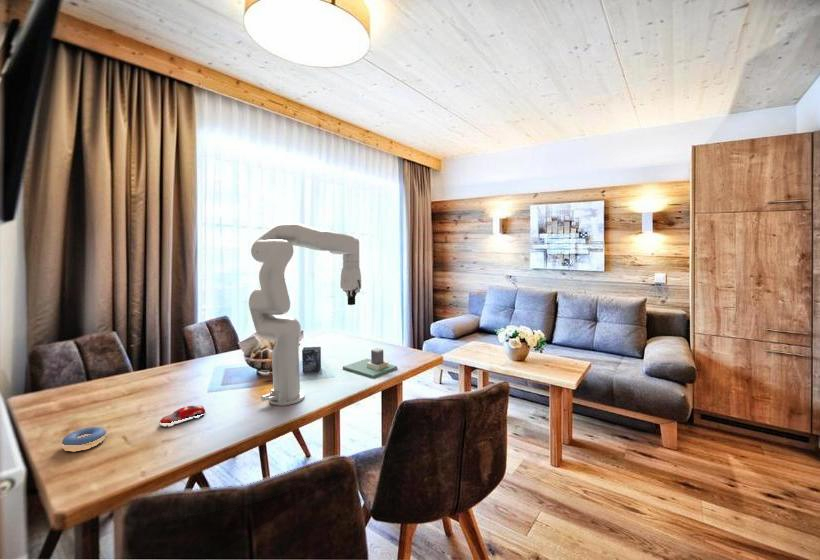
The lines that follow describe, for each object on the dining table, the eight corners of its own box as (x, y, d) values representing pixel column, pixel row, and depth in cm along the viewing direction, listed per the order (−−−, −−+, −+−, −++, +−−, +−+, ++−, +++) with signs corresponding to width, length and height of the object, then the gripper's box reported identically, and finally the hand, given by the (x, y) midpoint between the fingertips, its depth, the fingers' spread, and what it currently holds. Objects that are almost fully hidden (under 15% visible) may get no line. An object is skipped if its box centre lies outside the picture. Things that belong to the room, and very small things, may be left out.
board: (373, 378, 162) (373, 371, 161) (342, 369, 174) (342, 362, 174) (397, 368, 174) (397, 362, 174) (367, 360, 186) (367, 354, 186)
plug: (377, 368, 171) (377, 351, 170) (371, 366, 173) (371, 349, 173) (383, 366, 174) (383, 349, 173) (377, 364, 176) (377, 348, 176)
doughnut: (50, 454, 103) (51, 438, 103) (80, 438, 113) (81, 423, 113) (88, 456, 103) (89, 440, 103) (114, 440, 113) (115, 425, 113)
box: (302, 372, 169) (301, 350, 168) (304, 368, 175) (303, 347, 174) (320, 372, 170) (319, 349, 169) (321, 368, 176) (320, 346, 175)
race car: (161, 430, 117) (160, 418, 117) (157, 425, 121) (156, 413, 120) (207, 416, 126) (206, 405, 126) (202, 411, 130) (201, 400, 130)
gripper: (334, 265, 173) (334, 304, 174) (355, 265, 163) (356, 307, 164) (347, 264, 179) (347, 302, 180) (368, 265, 169) (368, 305, 170)
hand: (351, 304), depth 172 cm, fingers closed
